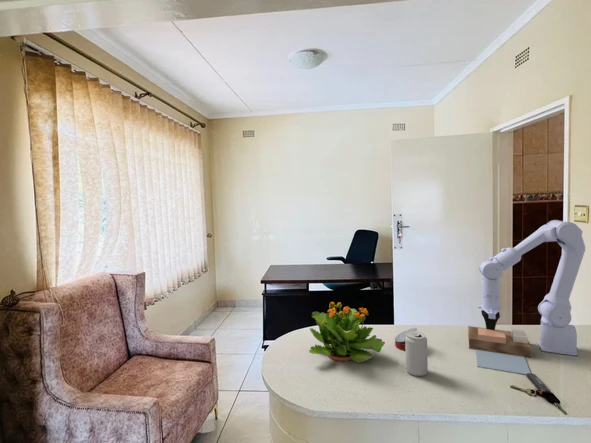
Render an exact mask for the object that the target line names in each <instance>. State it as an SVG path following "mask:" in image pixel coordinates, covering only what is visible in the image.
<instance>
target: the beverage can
mask: <svg viewBox="0 0 591 443" xmlns="http://www.w3.org/2000/svg"><path fill="white" fill-rule="evenodd" d="M404 352H405V370H406V371H407V372H408V373H409V374H410V375H412V376H415V377H423V376H425V375H426V374H428V370H429V369H428V368H429V366H428V365H429V364H428V363H429V362H428V359H429V358H428V339H427V336H426V334H425V332H421V331H419V330H417V331H410V332H407V333H406V337H405V351H404Z"/></svg>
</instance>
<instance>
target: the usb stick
mask: <svg viewBox="0 0 591 443" xmlns="http://www.w3.org/2000/svg"><path fill="white" fill-rule="evenodd" d="M525 376H526V378H528V380H529V381H530V382H531V384H532V385H533V386H534V387H535V388H536V389H537V390H538V389H542V390H545V391H547V392H549V393H552V391H551V390H550V389H549V388H548V386H546V385H545V383H544V382H542V380H541V379H540V378H539V377H538V376H537V375H536V374H535V373H532V372H530V373H527V375H525ZM552 394H553V393H552Z"/></svg>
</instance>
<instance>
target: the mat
mask: <svg viewBox="0 0 591 443" xmlns="http://www.w3.org/2000/svg"><path fill="white" fill-rule="evenodd" d="M475 356H476V358H475V359H476V365H477V366H476V367H477V368H481V369H489V370H494V371H500V372H504V373H505V372H506V373H510V374H512V373H513V374H518V375H523V376H526V375H527V373H531V371H530V367H529V365H528V363H527V360H526V357H525V356H518V355H511V354H505V353H498V352H491V351H484V350H477V349H475Z"/></svg>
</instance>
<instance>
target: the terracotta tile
mask: <svg viewBox="0 0 591 443" xmlns="http://www.w3.org/2000/svg"><path fill="white" fill-rule="evenodd" d="M481 328H482V327H479V328H478V338H479V340H482V341H489V342H496V343H504V344H506V337H505V333H504V331H505V330H504V331H497V330H498V329H496V330H489V329H481Z"/></svg>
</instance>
